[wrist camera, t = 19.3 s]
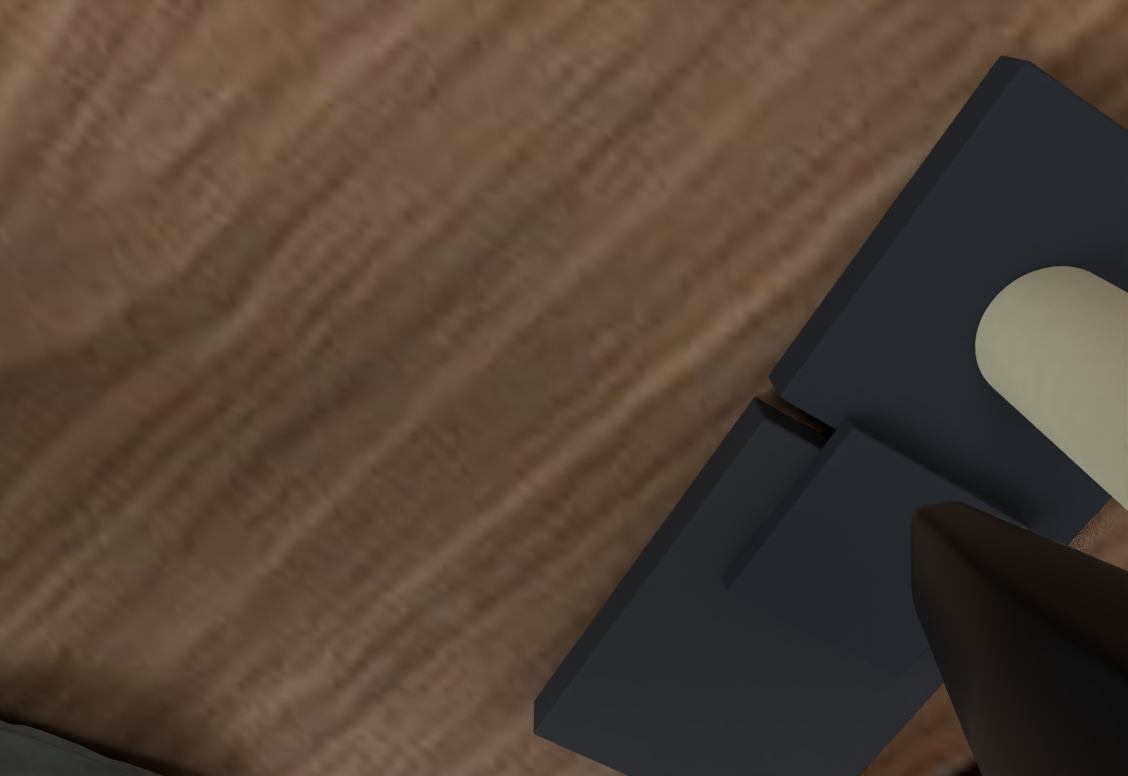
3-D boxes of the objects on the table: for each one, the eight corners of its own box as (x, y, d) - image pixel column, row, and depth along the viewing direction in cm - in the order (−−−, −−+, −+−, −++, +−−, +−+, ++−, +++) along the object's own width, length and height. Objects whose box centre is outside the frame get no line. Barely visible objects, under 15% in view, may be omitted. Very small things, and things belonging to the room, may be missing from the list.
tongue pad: (920, 657, 25) (1265, 1273, 13) (660, 523, 24) (790, 1094, 12) (1281, 252, 21) (2232, 614, 9) (1000, 54, 20) (1732, 189, 8)
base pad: (782, 814, 27) (793, 849, 26) (532, 701, 26) (532, 734, 24) (1021, 546, 24) (1044, 574, 23) (754, 395, 22) (765, 418, 21)
